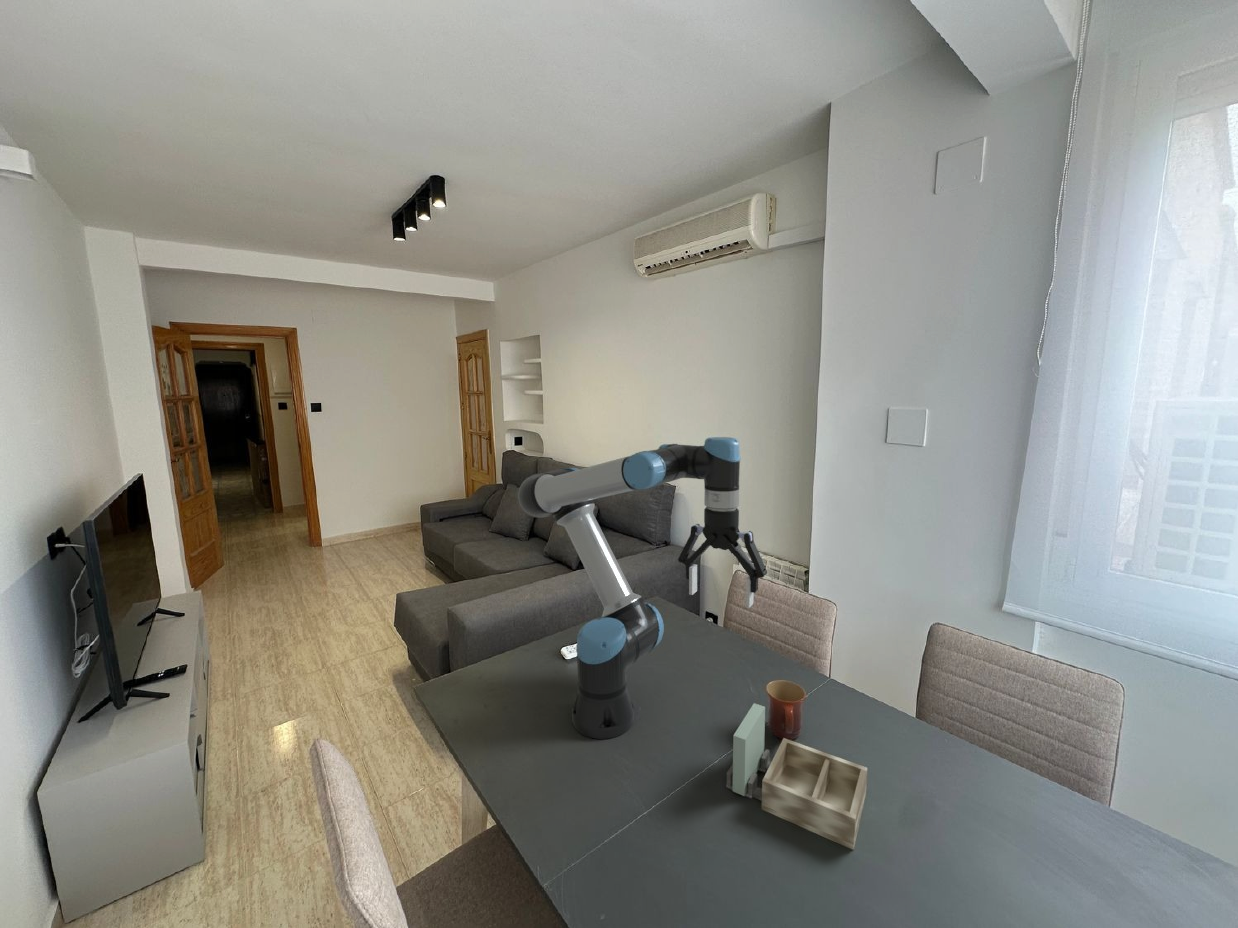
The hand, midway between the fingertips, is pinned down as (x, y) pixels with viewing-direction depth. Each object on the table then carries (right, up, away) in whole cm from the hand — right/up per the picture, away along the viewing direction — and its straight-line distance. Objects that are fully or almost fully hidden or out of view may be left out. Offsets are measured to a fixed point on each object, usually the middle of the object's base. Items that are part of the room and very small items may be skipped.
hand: (720, 598), depth 115 cm
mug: (+15, -32, +1) cm, 35 cm away
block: (+4, -33, -11) cm, 35 cm away
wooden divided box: (+11, -34, -16) cm, 39 cm away
